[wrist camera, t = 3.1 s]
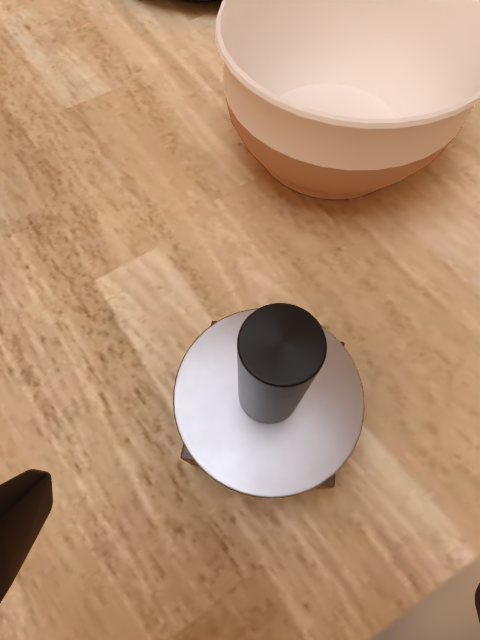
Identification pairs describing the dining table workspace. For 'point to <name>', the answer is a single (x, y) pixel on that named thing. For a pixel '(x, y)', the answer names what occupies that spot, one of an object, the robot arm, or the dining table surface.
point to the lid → (269, 402)
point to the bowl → (348, 86)
